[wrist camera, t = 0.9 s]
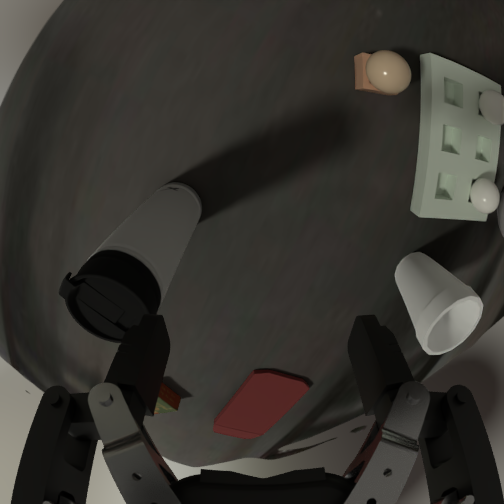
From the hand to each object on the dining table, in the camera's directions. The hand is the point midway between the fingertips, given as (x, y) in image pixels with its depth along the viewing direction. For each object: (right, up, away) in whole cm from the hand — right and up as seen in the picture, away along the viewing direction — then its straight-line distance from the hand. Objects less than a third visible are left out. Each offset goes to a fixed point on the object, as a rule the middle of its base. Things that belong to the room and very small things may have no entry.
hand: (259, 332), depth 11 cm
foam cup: (+24, +1, +26) cm, 35 cm away
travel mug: (-9, +9, +22) cm, 25 cm away
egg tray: (+27, +18, +16) cm, 36 cm away
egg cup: (+13, +23, +13) cm, 30 cm away
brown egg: (+13, +22, +11) cm, 28 cm away
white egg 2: (+31, +12, +17) cm, 37 cm away
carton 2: (0, -29, +42) cm, 51 cm away
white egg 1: (+30, +23, +11) cm, 40 cm away
